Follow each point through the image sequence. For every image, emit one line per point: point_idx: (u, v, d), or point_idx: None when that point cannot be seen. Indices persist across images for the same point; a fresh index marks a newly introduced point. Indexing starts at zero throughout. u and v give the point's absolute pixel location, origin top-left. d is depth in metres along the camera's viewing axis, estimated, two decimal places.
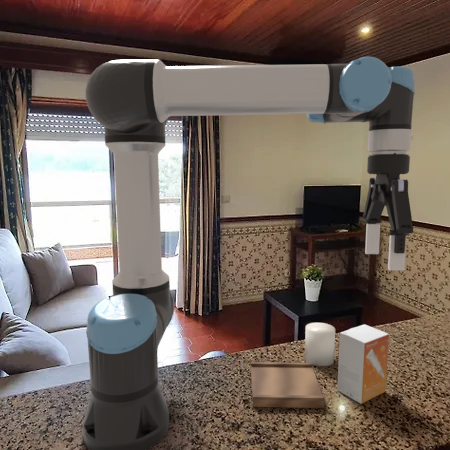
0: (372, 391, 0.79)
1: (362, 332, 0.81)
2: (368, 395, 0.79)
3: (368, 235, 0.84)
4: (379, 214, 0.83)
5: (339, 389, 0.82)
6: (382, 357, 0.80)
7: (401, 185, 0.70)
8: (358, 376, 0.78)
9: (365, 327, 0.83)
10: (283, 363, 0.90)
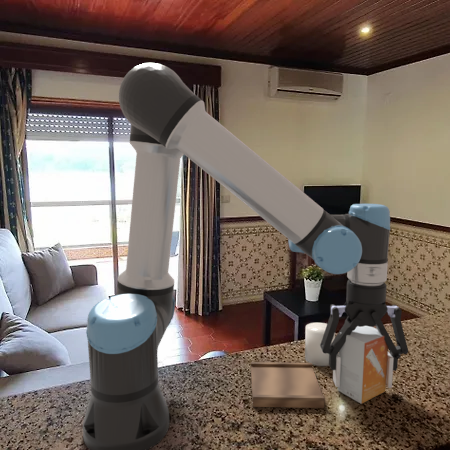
0: (372, 391, 0.79)
1: (362, 332, 0.81)
2: (368, 395, 0.79)
3: None
4: (387, 344, 0.80)
5: (339, 389, 0.82)
6: (382, 357, 0.80)
7: (331, 311, 0.80)
8: (358, 376, 0.78)
9: (365, 327, 0.83)
10: (283, 363, 0.90)
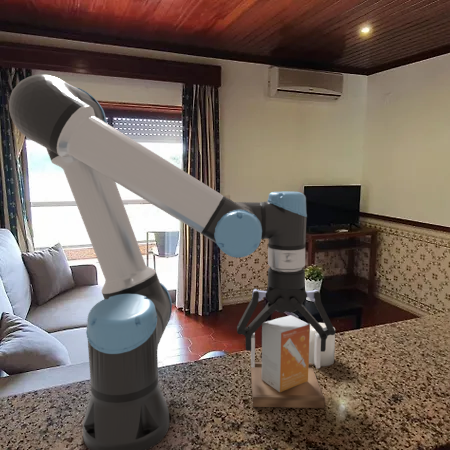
0: (292, 380, 0.81)
1: (284, 322, 0.82)
2: (287, 384, 0.80)
3: None
4: (313, 327, 0.81)
5: (263, 378, 0.84)
6: (302, 347, 0.81)
7: (252, 294, 0.81)
8: (276, 365, 0.79)
9: (289, 318, 0.85)
10: None
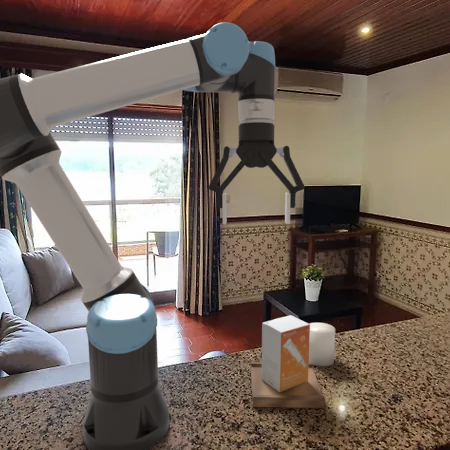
0: (292, 380, 0.81)
1: (284, 322, 0.82)
2: (287, 384, 0.80)
3: (285, 203, 0.85)
4: (282, 182, 0.83)
5: (263, 378, 0.84)
6: (302, 347, 0.81)
7: None
8: (276, 365, 0.79)
9: (289, 318, 0.85)
10: None
